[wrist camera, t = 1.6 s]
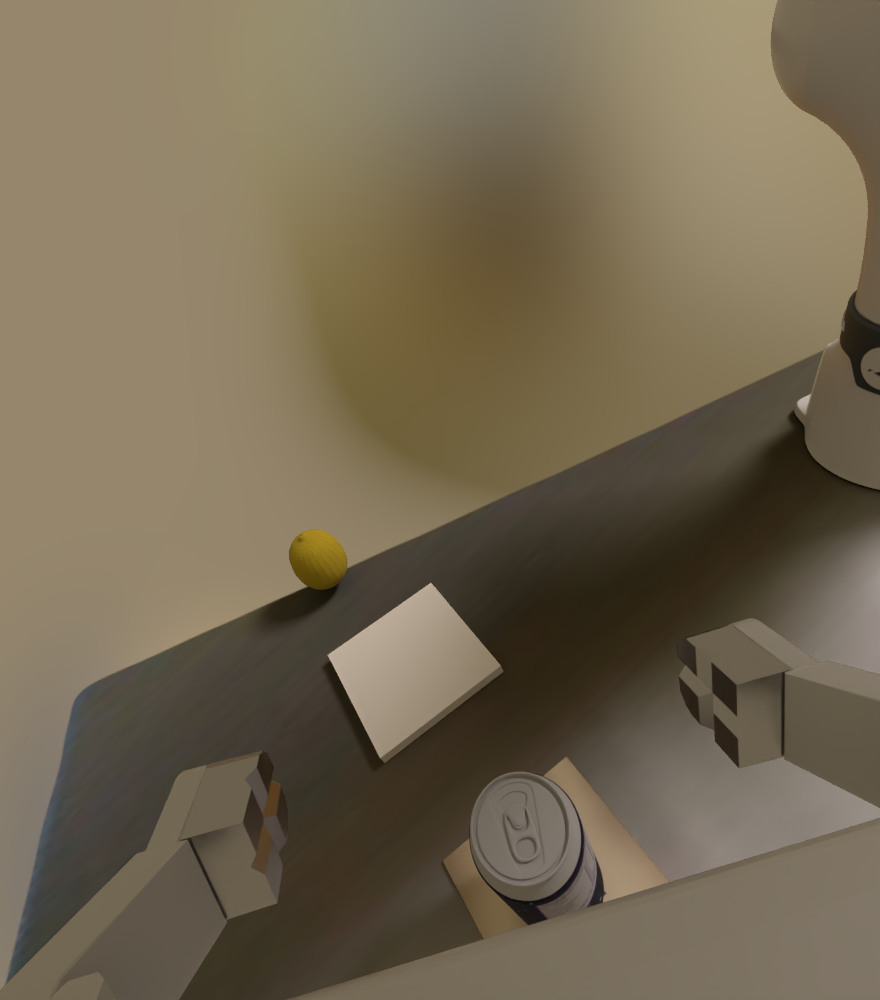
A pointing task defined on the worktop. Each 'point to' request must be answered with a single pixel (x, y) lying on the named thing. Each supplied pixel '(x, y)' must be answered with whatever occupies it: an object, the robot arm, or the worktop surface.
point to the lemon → (318, 559)
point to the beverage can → (534, 848)
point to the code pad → (610, 843)
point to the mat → (412, 670)
